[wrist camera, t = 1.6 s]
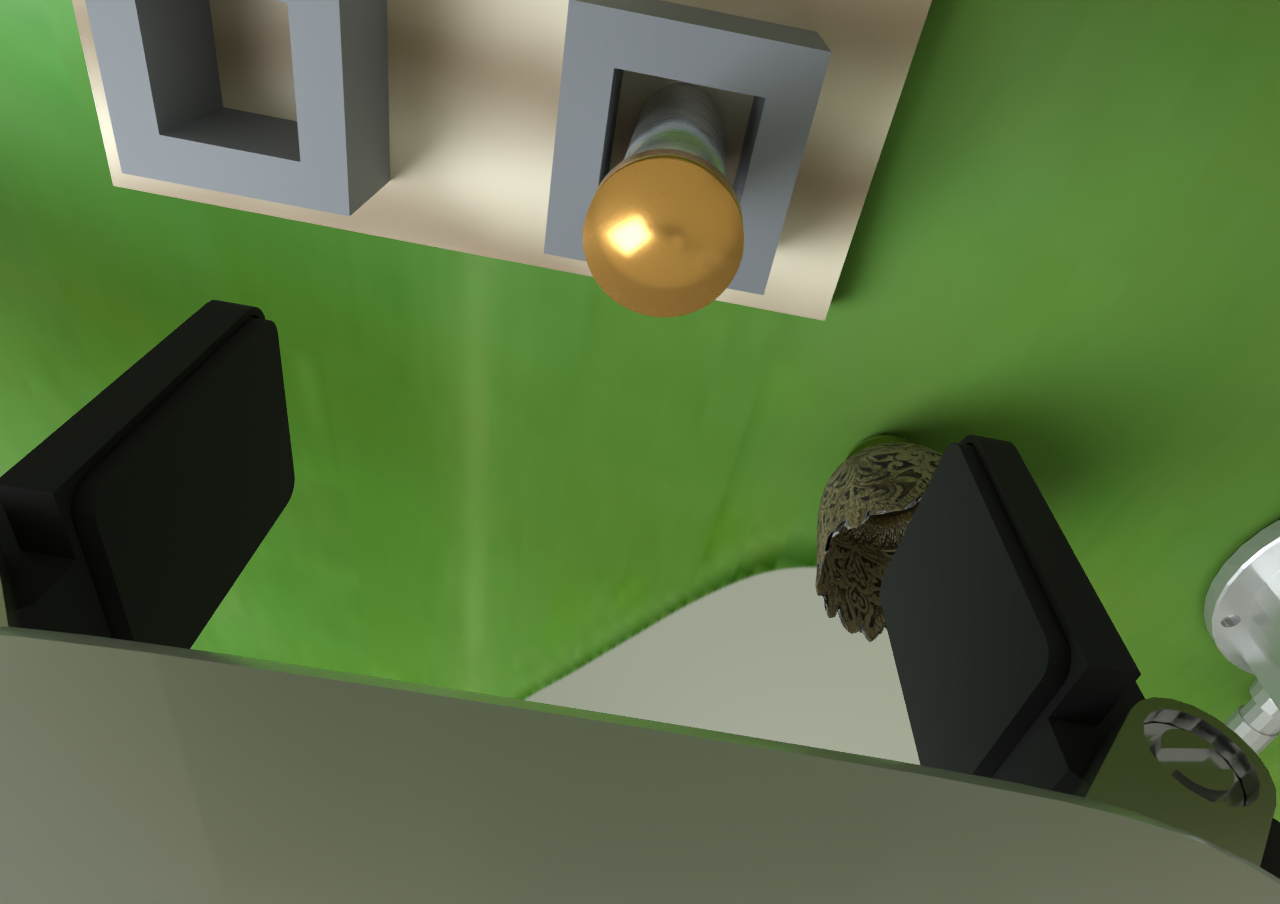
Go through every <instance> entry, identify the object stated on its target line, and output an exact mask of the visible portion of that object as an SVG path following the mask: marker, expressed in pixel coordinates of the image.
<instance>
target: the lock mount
mask: <svg viewBox="0 0 1280 904" xmlns="http://www.w3.org/2000/svg"><path fill="white" fill-rule="evenodd" d="M831 53H832V52H831V50H830V49H829V48H828V46H827V45H826V44H825V42H824V41H823V39H822V38H821V37H820V35H819V34H818V32H815V31H810V30H806V29H801V28H796V27H791V26H786V25H781V24H776V23H771V22H766V21H761V20H756V19H751V18H746V17H741V16H736V15H731V14H726V13H721V12H716V11H711V10H706V9H701V8H696V7H692V6H687V5H682V4H677V3H672V2H667V1H662V0H569V4H568V14H567V24H566V34H565V44H564V54H563V64H562V74H561V84H560V94H559V104H558V114H557V124H556V134H555V144H554V154H553V164H552V174H551V184H550V194H549V204H548V214H547V224H546V234H545V244H544V254H549V255H554V256H560V257H565V258H570V259H575V260H581V261H586V258H585V254H584V249H583V227H584V222H585V217H586V215H587V212H588V209H589V206H590V204H591V201H592V199H593V196H594V194H595V192H596V190H597V188H598V186H599V185H600V183H601V182H602V180H603V179H604V177H605V176H606V175H607V174H608V173H609V169H610V162H611V155H612V148H613V141H614V133H615V126H616V119H617V112H618V105H619V98H620V91H621V84H622V77H623V70H627V71H632V72H637V73H642V74H647V75H652V76H657V77H662V78H667V79H672V80H677V81H682V82H687V83H692V84H697V85H702V86H708V87H713V88H718V89H723V90H728V91H733V92H738V93H743V94H748V95H753V96H754V100H753V104H752V108H751V112H750V117H749V121H748V125H747V129H746V134H745V138H744V142H743V146H742V151H741V155H740V159H739V163H738V168H737V172H736V176H735V180H734V185H733V189H734V191H735V192H736V195H737V197H738V200H739V202H740V206H741V211H742V217H743V229H744V250H743V255H742V260H741V263H740V266H739V269H738V271H737V273H736V275H735V277H734V279H733V280H732V282H731V283H730V285H729V286H728V287H727V288H728V289H733V290H738V291H744V292H749V293H754V294H759V295H764V292H765V289H766V285H767V281H768V278H769V274H770V271H771V267H772V264H773V260H774V256H775V253H776V249H777V246H778V242H779V239H780V235H781V231H782V228H783V224H784V221H785V217H786V214H787V210H788V206H789V203H790V199H791V196H792V192H793V189H794V185H795V181H796V178H797V174H798V171H799V167H800V164H801V160H802V156H803V153H804V149H805V146H806V142H807V139H808V135H809V131H810V128H811V124H812V121H813V117H814V114H815V110H816V106H817V103H818V99H819V96H820V92H821V89H822V85H823V81H824V78H825V74H826V71H827V67H828V64H829V60H830V56H831ZM586 262H587V261H586Z"/></svg>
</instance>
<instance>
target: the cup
mask: <svg viewBox="0 0 1280 904" xmlns="http://www.w3.org/2000/svg"><path fill="white" fill-rule="evenodd" d="M942 456H943V454H941V453H939V452H937V451H935V450H933V449H931V448H929V447H926V446H923V445H919V444H914V443H911V442H909V441H908V440H906V439H904V438H901V437H899V436H894V435H878V436H873V437H870V438H868V439H865V440H863V441H862V442H860V443H859V444H857V445H856V446H855V447H854V448H853V449H852V450H851V451H850V453H849V454H848V456H847V458H846V460H845V461H844V462H843V463H842V464H841V465H840V466H839V467H838V468H837V469H836V470H835V472H834V473H833V474H832V476H831V477H830V479H829V481H828V483H827V484H826V487H825V489H824V491H823V494H822V498H821V502H820V507H819V513H818V525H817V576H816V592H817V595H819V596H820V595H821V596H823V597H824V601H825V610H826V612H827V615H828V617H829V618H832V617H835V615H836V612H837V611H838V614H839V617H840V620H841V622H842V624H843V626H844V627H845V629H846V630H847V631H848V632H850V633H852V634H853V633H856V632H859V631H860V632H861V633H863V634H864V636H865V637H866V639H867V640H868V641H869V642H871V641H873V640H874V639H875V638H876V637H877V636H878V635H879V634H881V633H882V631H883V628H884V627H885V628H886V629H887V626H886V622H885V618H884V614H883V610H882V606H881V601H880V588H881V583H882V579H883V576H884V574H885V572H886V570H887V568H888V566H889V564H890V562H891V560H892V558H893V556H894V554H895V552H896V550H897V548H898V546H899V543H900V541H901V539H902V537H903V535H904V533H905V531H906V529H907V527H908V525H909V523H910V521H911V519H912V517H913V515H914V513H915V511H916V509H917V507H918V505H919V503H920V501H921V499H922V497H923V495H924V492H925V490H926V488H927V486H928V484H929V482H930V480H931V478H932V476H933V474H934V472H935V470H936V468H937V466H938V464H939V462H940V460H941V458H942ZM887 631H888V630H887Z"/></svg>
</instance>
